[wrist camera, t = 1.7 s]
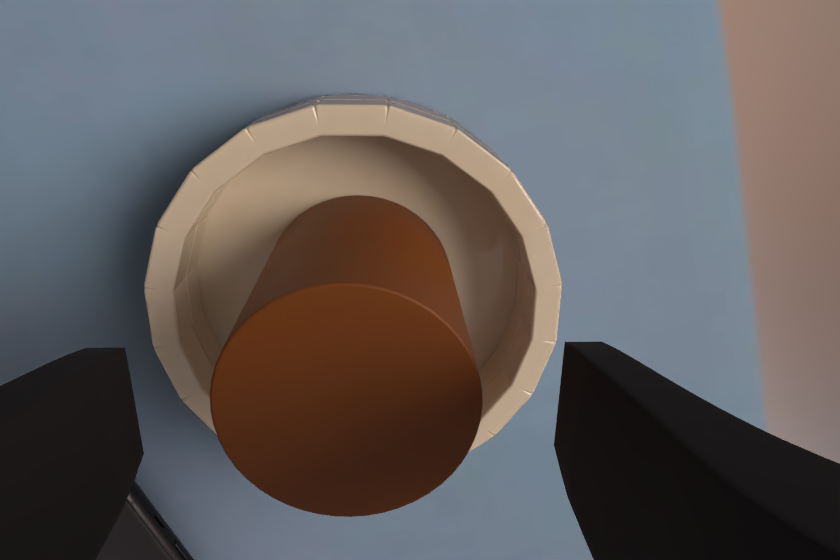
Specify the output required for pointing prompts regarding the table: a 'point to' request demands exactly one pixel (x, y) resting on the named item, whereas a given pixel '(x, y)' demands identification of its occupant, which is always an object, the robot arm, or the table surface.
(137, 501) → the smartphone
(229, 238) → the cream bowl
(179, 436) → the table surface
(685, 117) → the table surface
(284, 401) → the brown cylinder
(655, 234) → the table surface
